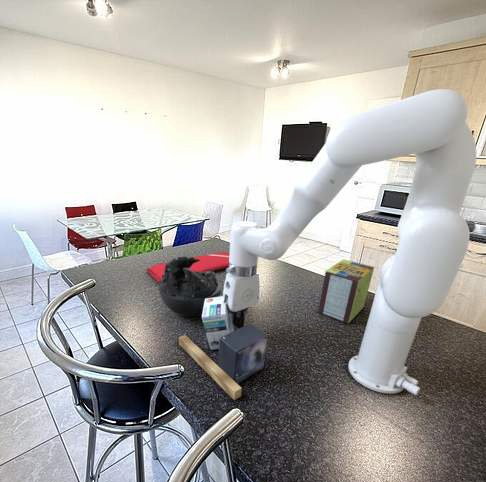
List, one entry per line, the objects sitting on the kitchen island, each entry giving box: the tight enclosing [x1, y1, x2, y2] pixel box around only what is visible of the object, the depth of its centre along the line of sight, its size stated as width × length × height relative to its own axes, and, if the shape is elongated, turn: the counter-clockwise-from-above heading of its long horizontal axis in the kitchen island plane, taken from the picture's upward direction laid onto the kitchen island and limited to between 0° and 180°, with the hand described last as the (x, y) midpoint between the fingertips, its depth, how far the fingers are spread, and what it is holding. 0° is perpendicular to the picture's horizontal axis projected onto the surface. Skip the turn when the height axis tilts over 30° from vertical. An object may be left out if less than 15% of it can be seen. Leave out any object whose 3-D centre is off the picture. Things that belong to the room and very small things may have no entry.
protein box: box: [317, 258, 375, 325], centre depth 98 cm, size 10×15×16 cm
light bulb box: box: [201, 295, 235, 351], centre depth 82 cm, size 11×7×11 cm, turn 176°
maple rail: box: [178, 334, 243, 401], centre depth 73 cm, size 24×2×2 cm, turn 36°
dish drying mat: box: [146, 251, 230, 284], centre depth 131 cm, size 16×41×4 cm, turn 121°
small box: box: [217, 323, 269, 385], centre depth 71 cm, size 11×6×10 cm, turn 128°
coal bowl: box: [158, 255, 222, 317], centre depth 94 cm, size 20×20×19 cm
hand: (238, 325), depth 86 cm, fingers closed
